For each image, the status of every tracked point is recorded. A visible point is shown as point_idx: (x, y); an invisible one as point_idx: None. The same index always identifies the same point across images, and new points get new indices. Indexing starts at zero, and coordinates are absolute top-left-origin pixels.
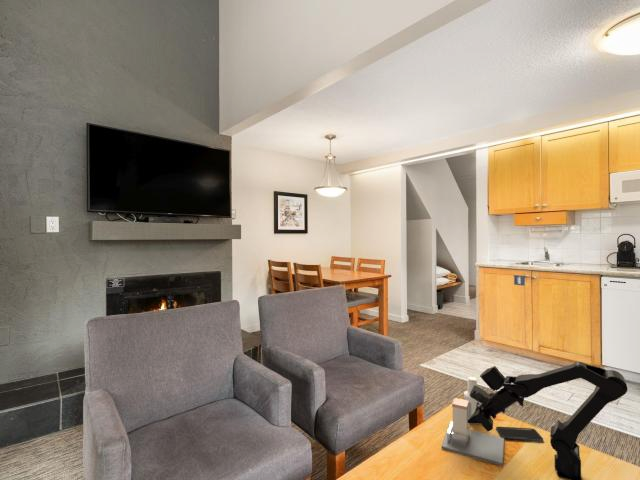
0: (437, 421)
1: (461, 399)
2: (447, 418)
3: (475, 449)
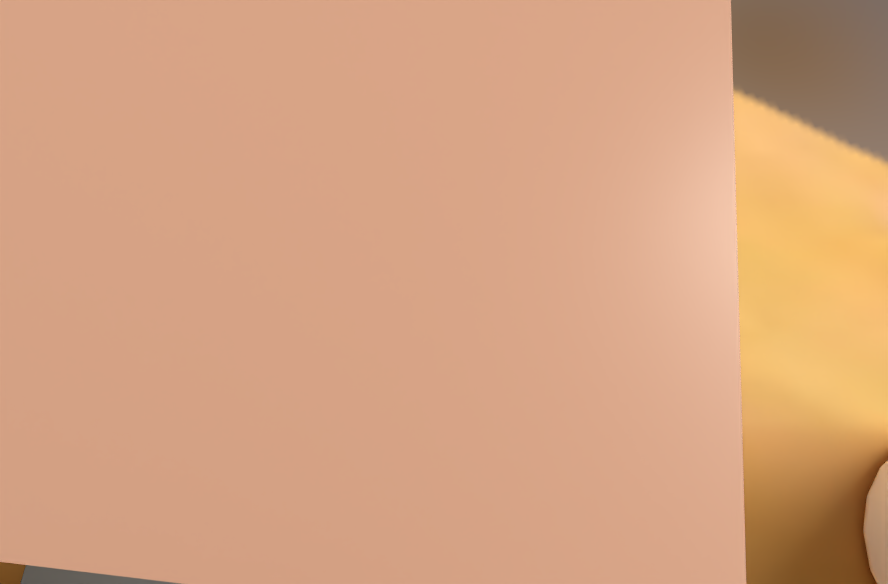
0: None
1: (708, 103)
2: (826, 234)
3: (171, 582)
